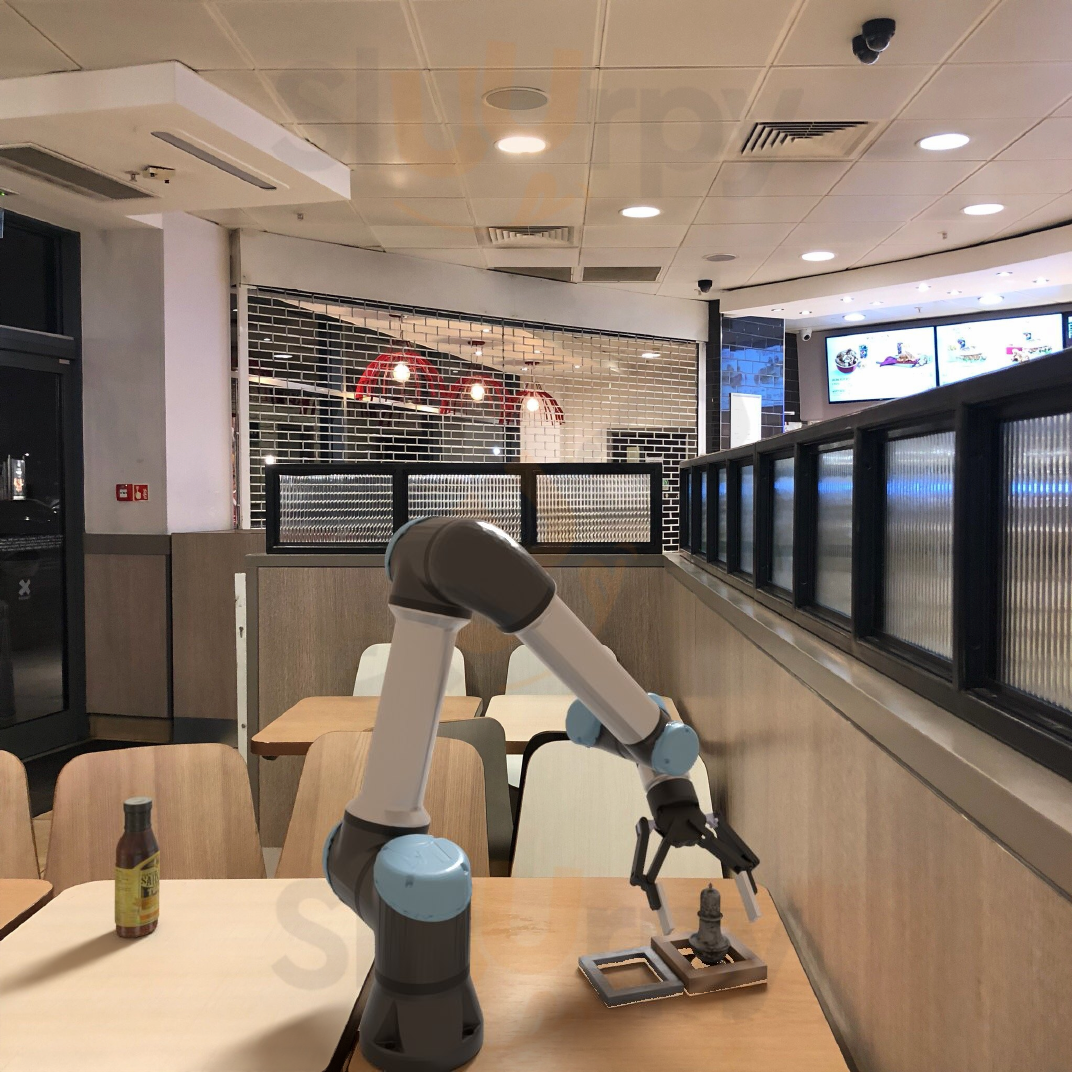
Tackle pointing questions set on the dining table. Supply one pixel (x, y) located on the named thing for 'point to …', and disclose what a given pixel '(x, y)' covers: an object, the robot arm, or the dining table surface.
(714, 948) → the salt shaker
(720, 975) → the walnut holder block
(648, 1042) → the dining table surface
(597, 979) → the metal collar
